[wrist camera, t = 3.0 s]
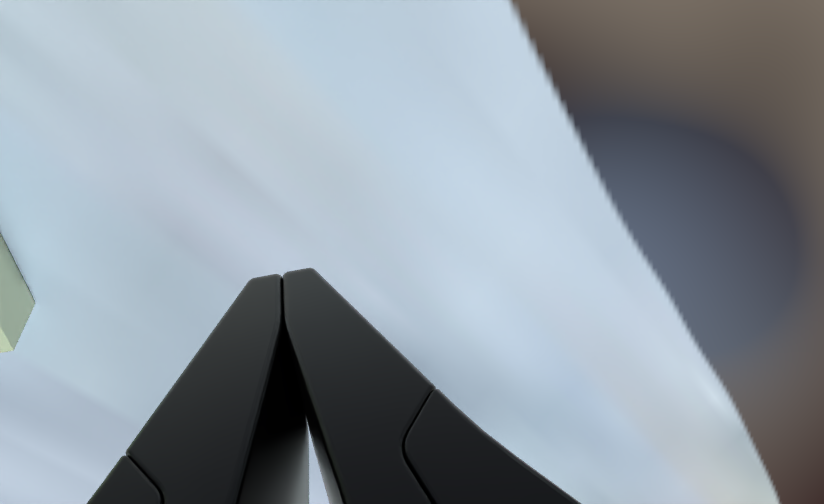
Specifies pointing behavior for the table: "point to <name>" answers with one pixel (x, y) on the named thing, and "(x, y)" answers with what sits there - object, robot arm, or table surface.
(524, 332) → the table surface
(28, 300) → the tray
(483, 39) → the table surface
